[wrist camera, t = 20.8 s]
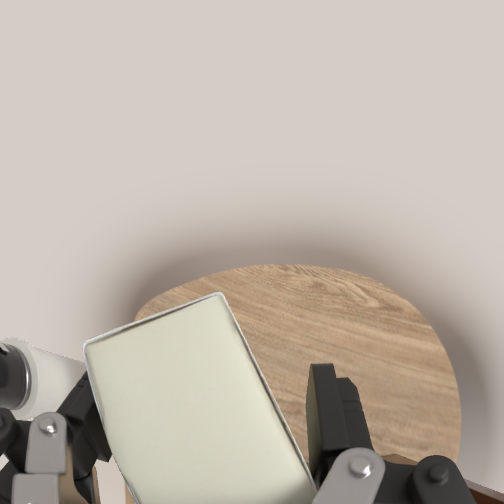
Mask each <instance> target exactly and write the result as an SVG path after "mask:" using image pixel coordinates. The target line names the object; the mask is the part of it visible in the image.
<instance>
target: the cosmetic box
mask: <svg viewBox="0 0 504 504" xmlns="http://www.w3.org/2000/svg"><path fill="white" fill-rule="evenodd" d="M83 355H84V359H85V364H86V368H87V372H88V376H89V380H90V384H91V387H92V391H93V395H94V398H95V402H96V405H97V408H98V411H99V414H100V417H101V421H102V424H103V428H104V431H105V434H106V437H107V440H108V444H109V447H110V449H111V452H112V455H113V457H114V459H115V461H116V463H117V466H118V468H119V470H120V472H121V474H122V476H123V478H124V480H125V482H126V484H127V487H128V489H129V491H130V493H131V495H132V497H133V499H134V502H135V503H136V504H311V503H312V501H313V500H314V498H315V496H316V494H317V493H318V489H317V487H316V485H315V483H314V480H313V478H312V476H311V473H310V471H309V469H308V467H307V465H306V462H305V460H304V458H303V456H302V453H301V451H300V449H299V447H298V445H297V443H296V441H295V439H294V437H293V435H292V433H291V430H290V428H289V426H288V424H287V422H286V420H285V418H284V416H283V414H282V412H281V410H280V408H279V406H278V404H277V402H276V400H275V398H274V396H273V394H272V392H271V390H270V388H269V385H268V383H267V381H266V379H265V377H264V375H263V373H262V371H261V369H260V367H259V365H258V363H257V361H256V359H255V357H254V355H253V353H252V351H251V349H250V347H249V345H248V343H247V341H246V339H245V337H244V335H243V333H242V331H241V329H240V327H239V325H238V323H237V321H236V319H235V317H234V315H233V313H232V311H231V309H230V307H229V305H228V302H227V300H226V298H225V297H224V295H223V293H222V292H213V293H211V294H208V295H206V296H203V297H201V298H198V299H196V300H193V301H190V302H187V303H184V304H181V305H178V306H176V307H173V308H171V309H168V310H164V311H162V312H159V313H156V314H153V315H151V316H148V317H145V318H143V319H141V320H138V321H135V322H132V323H130V324H127V325H124V326H121V327H118V328H116V329H113V330H111V331H108V332H105V333H103V334H100V335H98V336H95V337H92V338H90V339H88V340H86V341H85V343H84V345H83Z"/></svg>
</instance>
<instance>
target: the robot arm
mask: <svg viewBox="0 0 504 504" xmlns="http://www.w3.org/2000/svg"><path fill="white" fill-rule="evenodd" d="M31 384H32V379H31V371H30V366H29V363H28V361H27V359H26V357H25V355H24V354H23V352H22V351H21V350H20V349H18V348H17V347H15V346H12V345H8V344H4V343H1V341H0V456H1V455H2V454H4V455H5V456H6V457H7V459H8V460H9V462H8V463H7V464H6V465H5V466H4V468H3V469H2V470H1V471H0V504H101V503H100V496H99V488H98V480H97V472H96V468H95V466H94V464H95V462H96V460H97V459H99V460H102V461H105V462H109V460H110V458H111V456H112V452H111V449H110V447H109V444H108V440H107V437H106V434H105V431H104V428H103V424H102V421H101V417H100V414H99V411H98V408H97V405H96V402H95V398H94V395H93V391H92V387H91V384H90V380H89V376H88V372H87V370H86V372H85V373H84V374H83V376H82V378H81V379H80V380H79V381H78V382H77V384H76V386H74V388H73V389H72V390H71V392H70V393H69V394H68V396H67V397H66V398H65V400H64V401H63V403H62V404H61V405H60V407H59V408H58V409H57V411H56V412H45V413H42V414H40V415H38V416H37V417H36V418H35V419H34V420H33V421H22V420H16V418H15V417H14V415H13V414H12V412H11V411H10V410H19V409H21V408H22V407H23V406H24V405H25V404H26V403H27V401H28V399H29V396H30V392H31ZM306 419H307V433H308V448H309V464H310V473H311V476H312V478H313V480H314V483H315V485H316V487H317V488H320V489H319V491H318V493H317V494H316V496H315V498H314V500H313V501H312V503H311V504H477V503H476V501H475V499H474V497H473V496H472V494H471V492H470V490H469V488H468V486H467V484H466V482H465V480H464V479H463V477H462V475H461V473H460V471H459V470H458V468H457V466H456V464H455V463H454V462H453V461H452V460H450V459H449V458H447V457H444V456H440V455H433V456H428V457H426V458H424V459H422V460H421V461H420V462H419V463H418V464H417V465H407V464H396V463H391V462H388V461H386V460H384V459H382V457H381V456H380V455H379V454H378V453H376V452H375V451H374V449H373V447H372V443H371V439H370V435H369V431H368V428H367V424H366V420H365V416H364V412H363V411H362V405H361V401H360V398H359V394H358V390H357V387H356V386H355V385H354V384H353V383H352V382H351V380H350V379H349V378H348V377H347V378H336V374H335V370H334V366H333V364H332V363H329V364H311V365H310V371H309V379H308V387H307V395H306Z"/></svg>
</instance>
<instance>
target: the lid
mask: <svg viewBox="0 0 504 504" xmlns="http://www.w3.org/2000/svg"><path fill="white" fill-rule="evenodd" d="M463 479H464V478H463ZM464 480H465V482H466V484H467V486H468V488H469V490H470V492H471V494H472V496H473V497H474V499H475V501H476V503H477V504H504V494H503V493H500V492H497V491H494V490H492V489H489V488H486V487H484V486H481V485H478V484H476V483H473V482H471V481H468V480H466V479H464Z"/></svg>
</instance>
